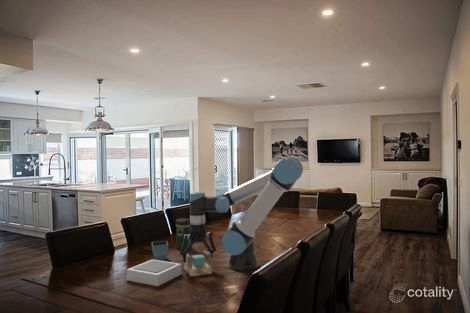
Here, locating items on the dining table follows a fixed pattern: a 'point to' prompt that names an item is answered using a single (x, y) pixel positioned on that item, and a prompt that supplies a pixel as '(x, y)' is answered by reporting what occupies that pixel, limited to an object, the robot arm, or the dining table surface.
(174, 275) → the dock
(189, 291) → the dining table surface
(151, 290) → the dining table surface
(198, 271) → the tan plastic holder
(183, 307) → the dining table surface
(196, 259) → the teal block
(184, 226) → the coffee jar
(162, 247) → the flower pot
